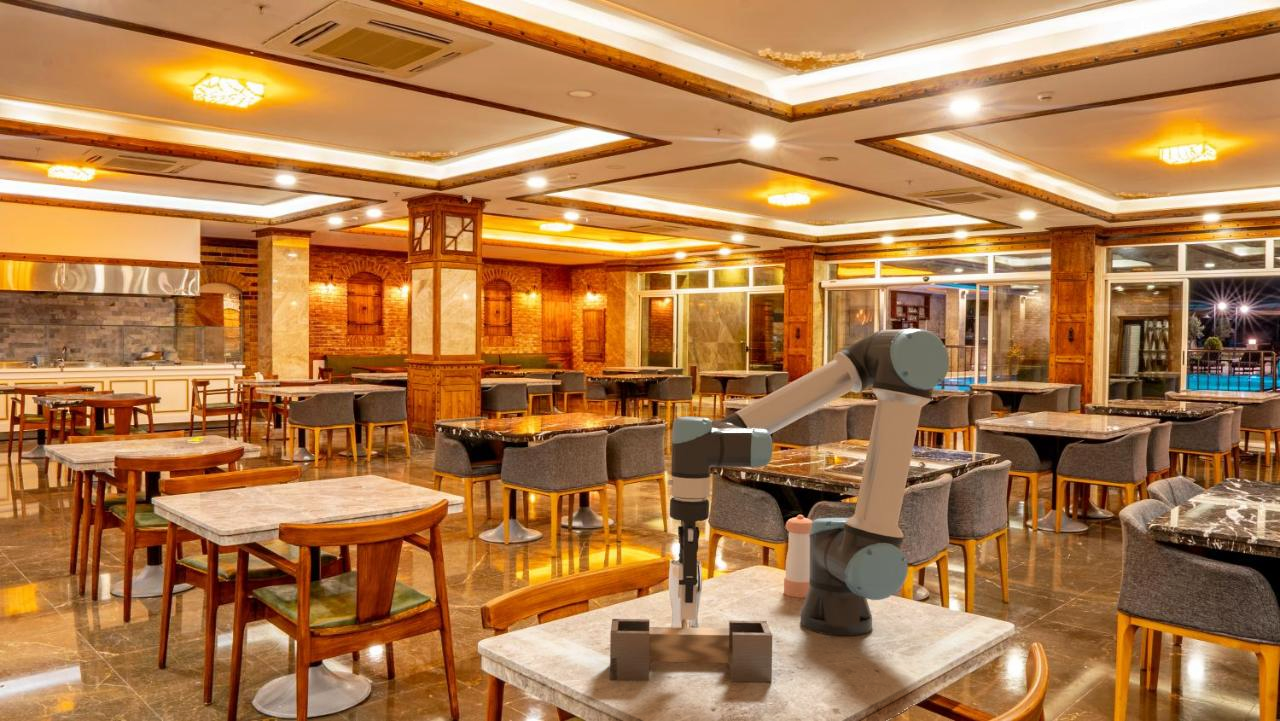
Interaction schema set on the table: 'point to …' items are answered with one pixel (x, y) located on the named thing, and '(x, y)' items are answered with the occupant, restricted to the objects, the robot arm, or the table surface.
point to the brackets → (745, 650)
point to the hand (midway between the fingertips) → (686, 608)
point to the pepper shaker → (798, 557)
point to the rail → (688, 644)
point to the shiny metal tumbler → (676, 601)
